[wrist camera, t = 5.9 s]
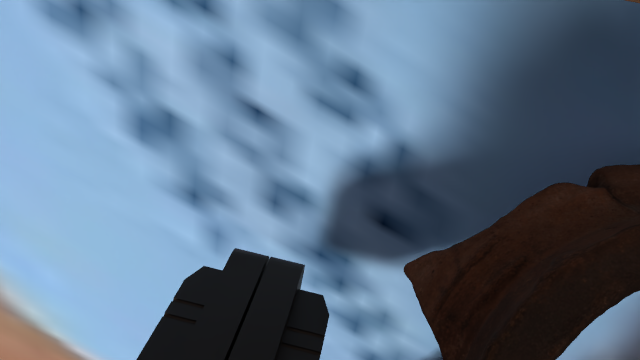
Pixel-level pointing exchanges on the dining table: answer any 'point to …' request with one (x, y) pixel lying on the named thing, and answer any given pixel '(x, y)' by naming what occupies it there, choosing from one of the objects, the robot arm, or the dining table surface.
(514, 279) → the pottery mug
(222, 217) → the dining table surface
